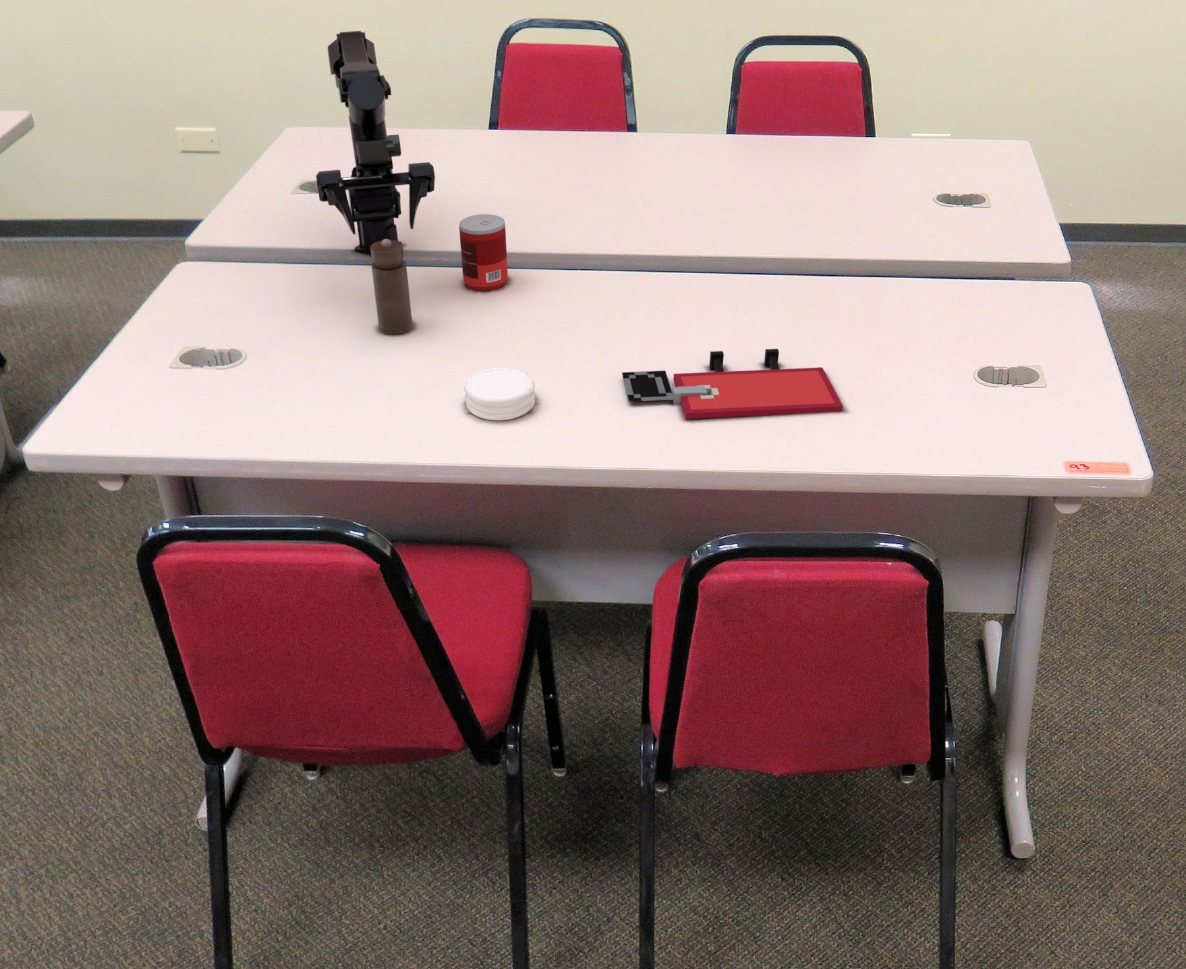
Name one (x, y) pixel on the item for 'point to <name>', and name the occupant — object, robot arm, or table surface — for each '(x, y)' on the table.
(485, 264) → the canned food
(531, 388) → the coaster
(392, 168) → the robot arm
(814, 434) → the table surface
